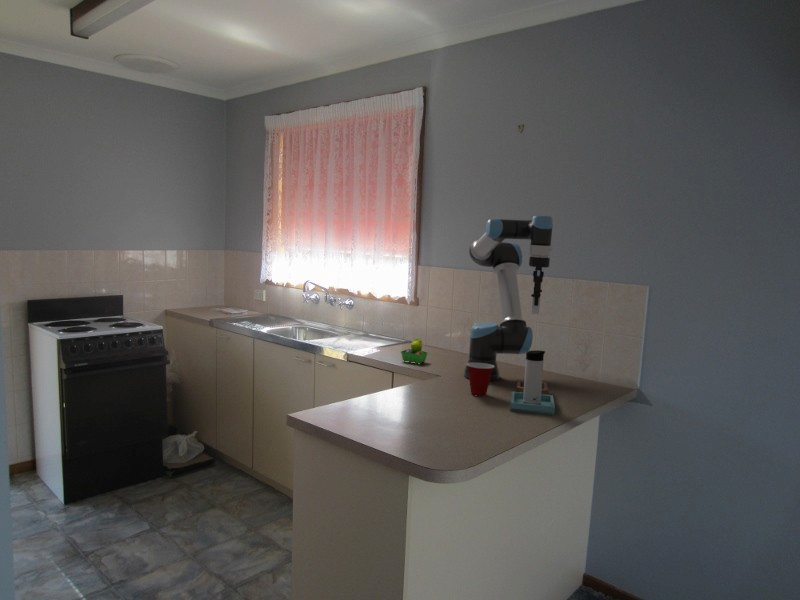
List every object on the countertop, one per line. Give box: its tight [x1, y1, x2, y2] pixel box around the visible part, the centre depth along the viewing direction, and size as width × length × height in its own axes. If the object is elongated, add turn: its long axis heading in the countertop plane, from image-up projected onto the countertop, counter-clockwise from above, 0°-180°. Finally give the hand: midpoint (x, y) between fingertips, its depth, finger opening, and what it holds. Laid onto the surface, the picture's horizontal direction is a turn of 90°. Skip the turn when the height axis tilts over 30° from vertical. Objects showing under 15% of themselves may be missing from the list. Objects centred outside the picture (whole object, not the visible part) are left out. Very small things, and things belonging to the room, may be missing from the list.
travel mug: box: [523, 350, 546, 405], centre depth 203 cm, size 6×7×20 cm
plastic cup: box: [465, 362, 494, 397], centre depth 218 cm, size 11×11×12 cm
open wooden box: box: [516, 379, 549, 395], centre depth 220 cm, size 12×12×4 cm
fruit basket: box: [400, 337, 429, 364], centre depth 268 cm, size 11×9×11 cm
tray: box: [509, 391, 556, 416], centre depth 205 cm, size 15×15×3 cm
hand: (535, 311), depth 219 cm, fingers open, 13 cm apart
